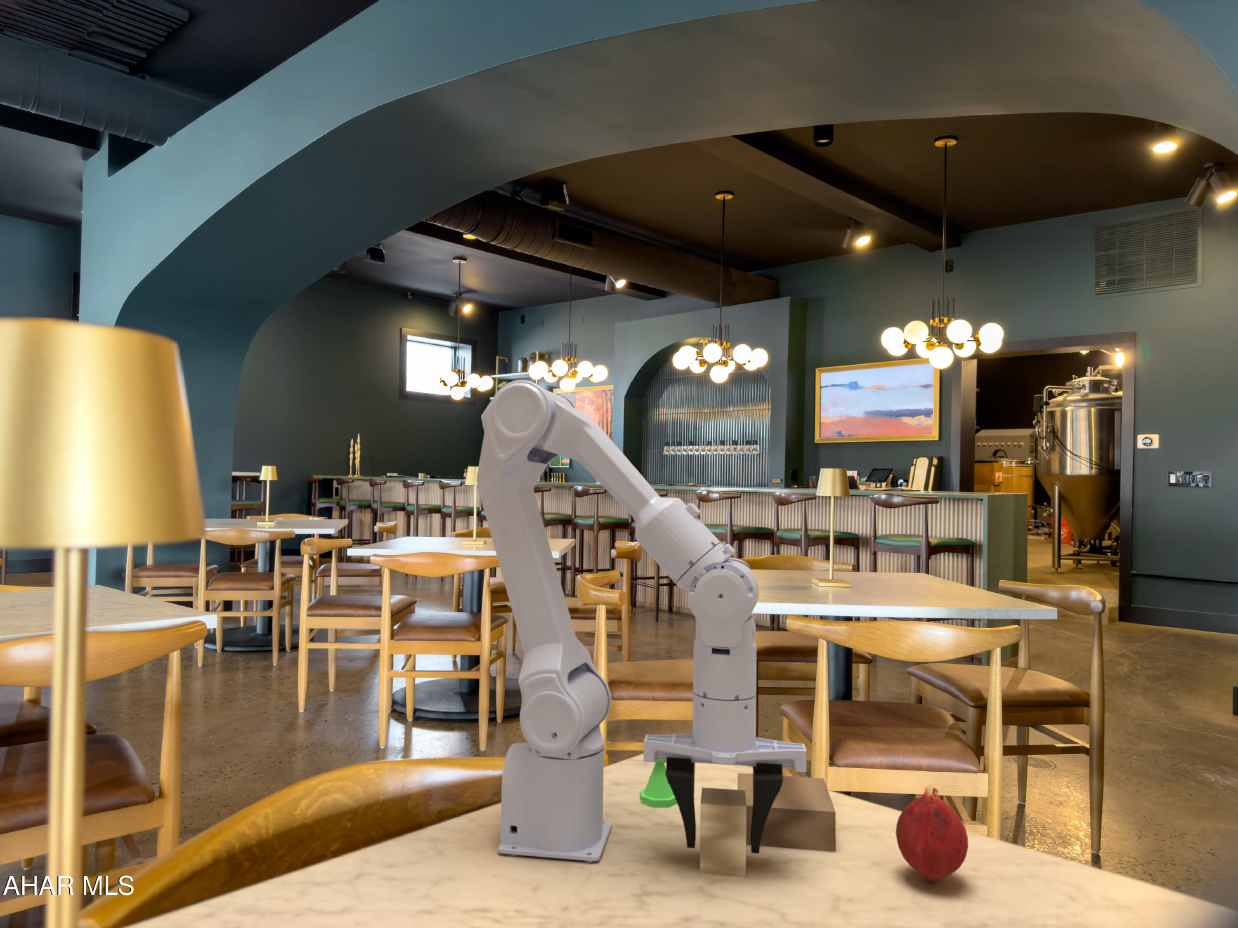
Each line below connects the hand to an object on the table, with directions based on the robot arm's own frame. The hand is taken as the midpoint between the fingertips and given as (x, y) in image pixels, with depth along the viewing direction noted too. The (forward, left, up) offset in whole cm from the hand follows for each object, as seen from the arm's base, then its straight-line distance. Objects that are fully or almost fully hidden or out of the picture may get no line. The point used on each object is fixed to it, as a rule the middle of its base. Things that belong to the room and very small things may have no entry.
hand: (722, 845), depth 69 cm
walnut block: (+6, +9, -2) cm, 11 cm away
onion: (+18, 0, -2) cm, 18 cm away
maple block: (0, 0, -2) cm, 2 cm away
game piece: (-7, +14, -2) cm, 16 cm away
